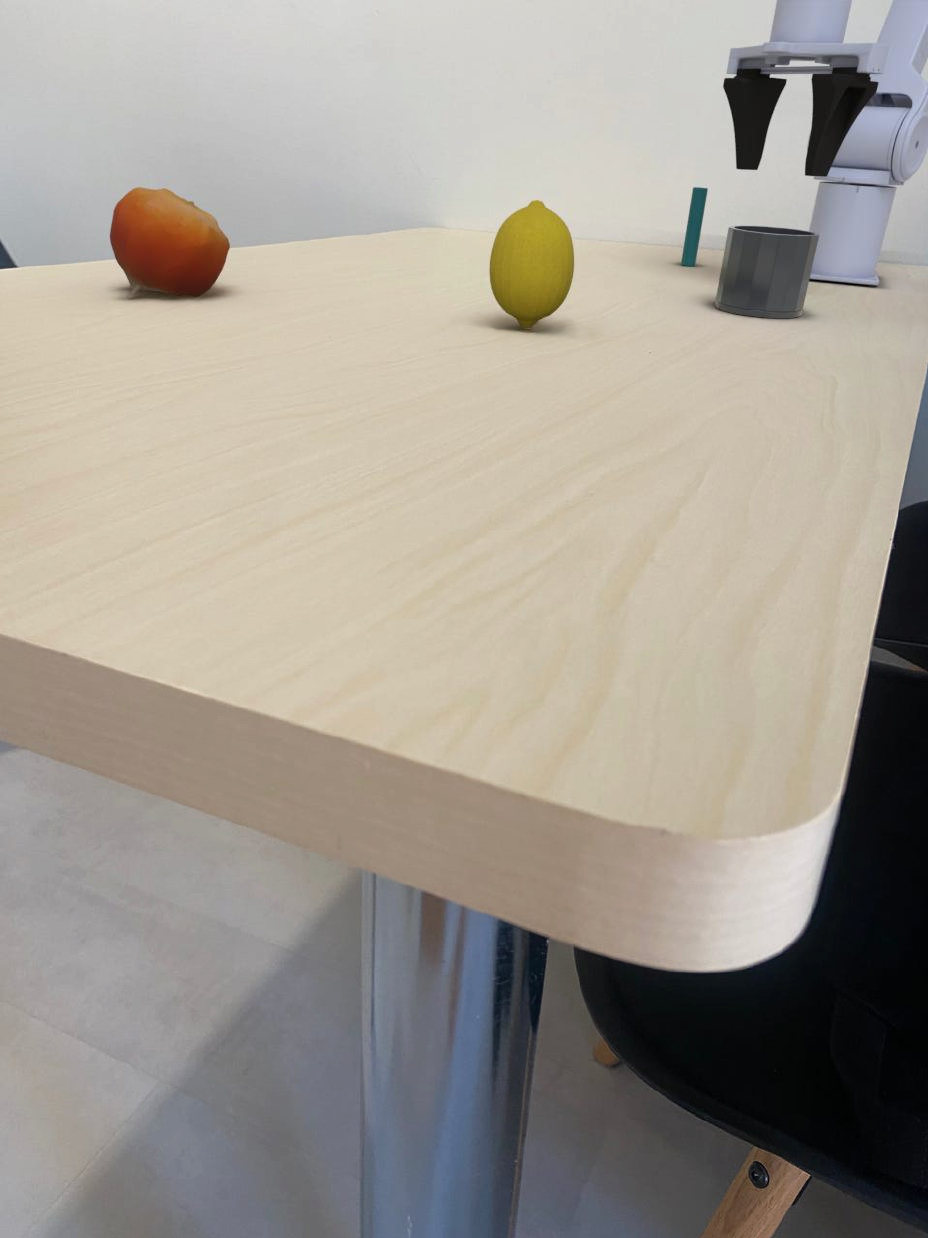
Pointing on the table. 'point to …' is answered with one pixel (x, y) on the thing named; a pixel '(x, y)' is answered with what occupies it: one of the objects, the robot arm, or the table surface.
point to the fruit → (167, 243)
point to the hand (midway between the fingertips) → (780, 172)
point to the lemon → (532, 264)
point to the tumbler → (766, 271)
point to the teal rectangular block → (694, 226)
